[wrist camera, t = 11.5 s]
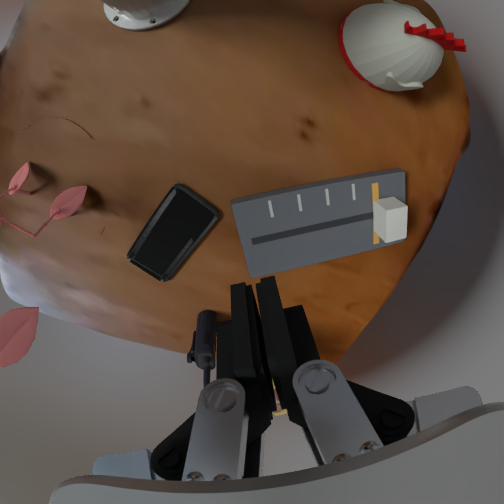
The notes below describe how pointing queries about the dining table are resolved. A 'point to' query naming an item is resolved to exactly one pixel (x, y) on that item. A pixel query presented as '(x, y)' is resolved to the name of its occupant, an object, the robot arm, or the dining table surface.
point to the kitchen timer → (393, 45)
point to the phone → (172, 232)
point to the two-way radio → (204, 344)
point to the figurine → (25, 319)
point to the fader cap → (390, 219)
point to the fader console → (313, 221)
